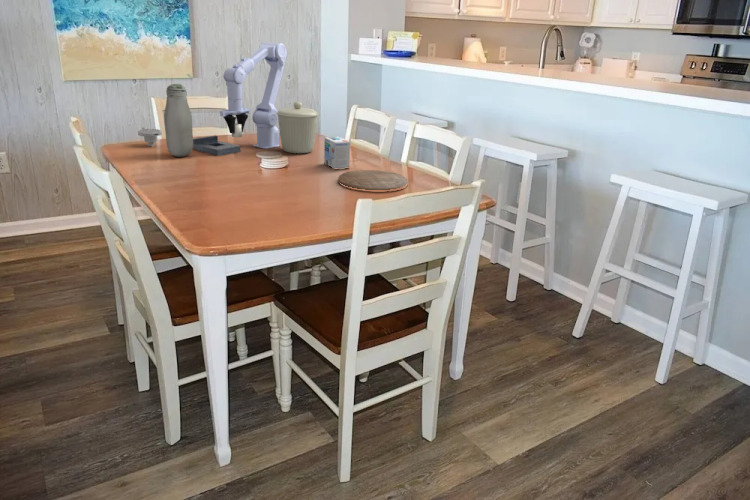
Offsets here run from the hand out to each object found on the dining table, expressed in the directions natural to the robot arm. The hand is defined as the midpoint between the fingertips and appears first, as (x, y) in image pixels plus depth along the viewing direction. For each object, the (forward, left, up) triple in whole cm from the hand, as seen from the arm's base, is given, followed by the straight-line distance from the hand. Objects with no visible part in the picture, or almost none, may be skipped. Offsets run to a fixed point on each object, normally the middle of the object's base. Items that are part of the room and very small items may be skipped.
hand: (236, 132), depth 238 cm
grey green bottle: (+21, -9, -9) cm, 24 cm away
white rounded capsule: (0, 0, -2) cm, 2 cm away
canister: (-21, +15, -9) cm, 27 cm away
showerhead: (+19, -33, -9) cm, 39 cm away
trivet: (-4, +69, -9) cm, 69 cm away
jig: (+4, -8, -8) cm, 13 cm away
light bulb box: (-13, +44, -9) cm, 46 cm away
